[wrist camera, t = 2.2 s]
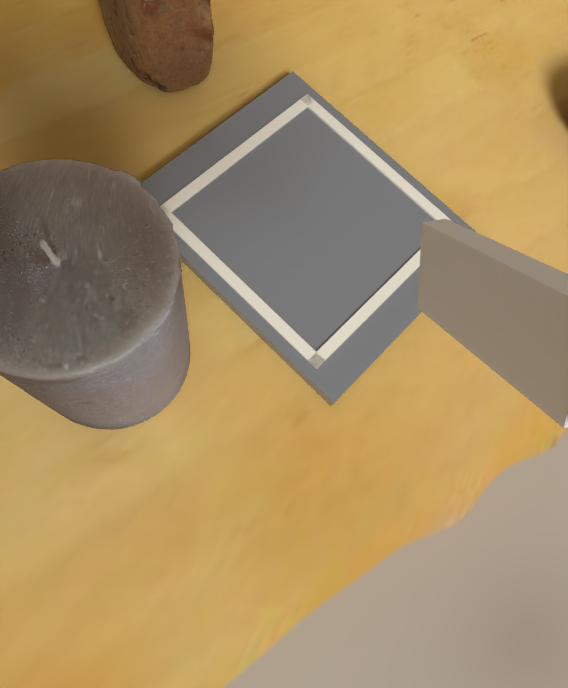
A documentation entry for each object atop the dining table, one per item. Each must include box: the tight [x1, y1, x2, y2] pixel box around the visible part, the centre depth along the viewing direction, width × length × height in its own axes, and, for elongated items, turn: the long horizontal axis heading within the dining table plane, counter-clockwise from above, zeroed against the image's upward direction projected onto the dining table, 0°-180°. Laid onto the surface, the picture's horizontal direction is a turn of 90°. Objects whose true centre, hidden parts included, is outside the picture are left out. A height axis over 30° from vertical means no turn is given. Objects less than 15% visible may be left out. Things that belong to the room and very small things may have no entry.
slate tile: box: [140, 71, 477, 406], centre depth 38 cm, size 20×17×1 cm
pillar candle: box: [0, 159, 190, 429], centre depth 27 cm, size 10×10×15 cm
